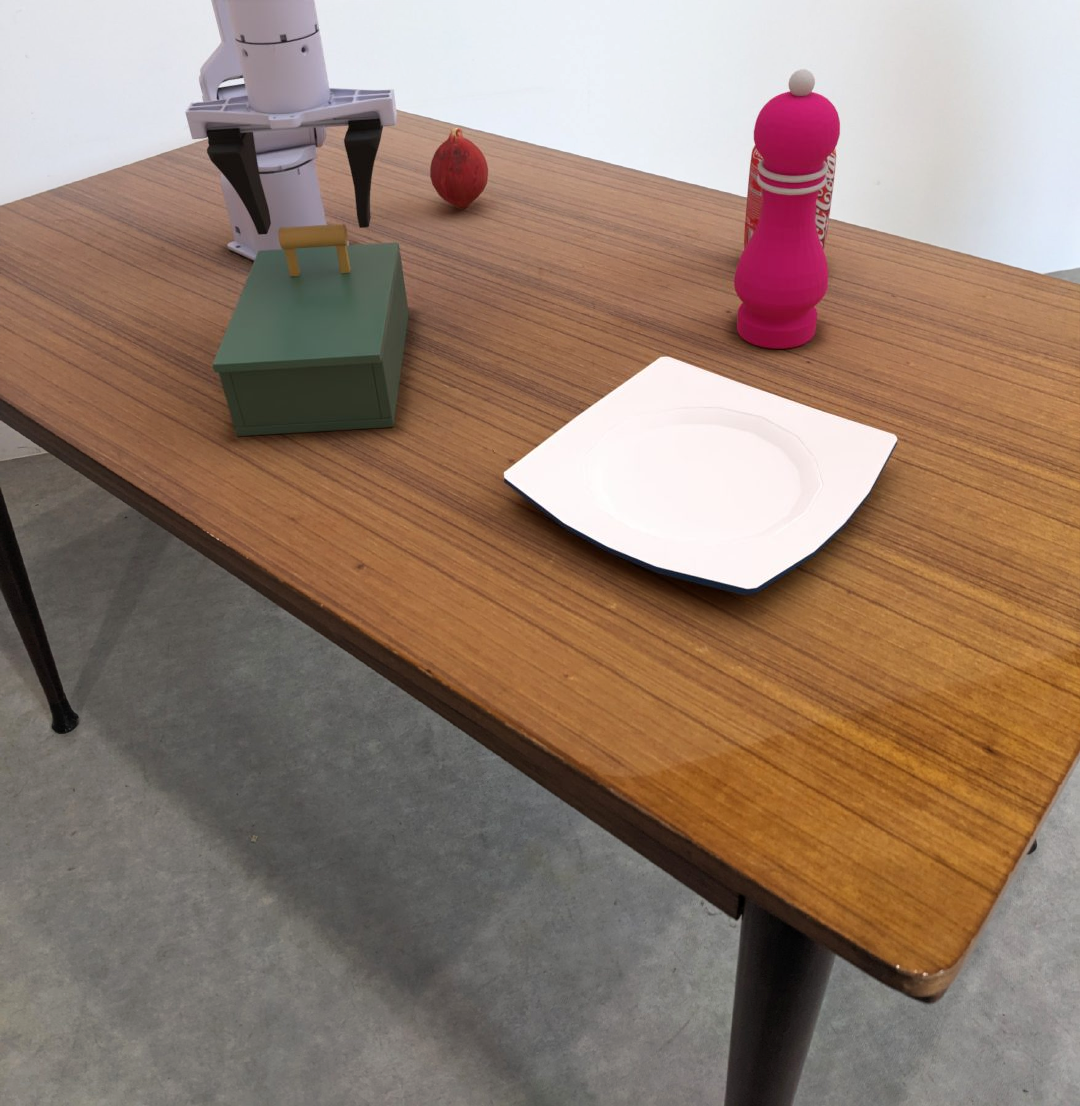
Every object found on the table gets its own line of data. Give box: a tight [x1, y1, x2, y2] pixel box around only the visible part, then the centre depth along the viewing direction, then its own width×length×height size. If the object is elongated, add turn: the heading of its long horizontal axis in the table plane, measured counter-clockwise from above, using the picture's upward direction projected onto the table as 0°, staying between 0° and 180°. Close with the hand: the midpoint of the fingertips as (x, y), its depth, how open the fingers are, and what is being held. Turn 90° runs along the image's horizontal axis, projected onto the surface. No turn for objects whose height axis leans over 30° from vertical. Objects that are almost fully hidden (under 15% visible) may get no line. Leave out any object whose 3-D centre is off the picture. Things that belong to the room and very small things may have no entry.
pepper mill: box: [733, 68, 841, 350], centre depth 79 cm, size 7×7×20 cm
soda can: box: [743, 145, 837, 251], centre depth 90 cm, size 7×7×12 cm
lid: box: [212, 223, 401, 374], centre depth 78 cm, size 18×12×4 cm, turn 2°
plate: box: [503, 356, 899, 596], centre depth 69 cm, size 20×20×3 cm
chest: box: [218, 250, 410, 437], centre depth 82 cm, size 18×12×6 cm, turn 2°
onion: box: [429, 126, 489, 210], centre depth 105 cm, size 6×6×8 cm
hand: (314, 225), depth 80 cm, fingers open, 7 cm apart
